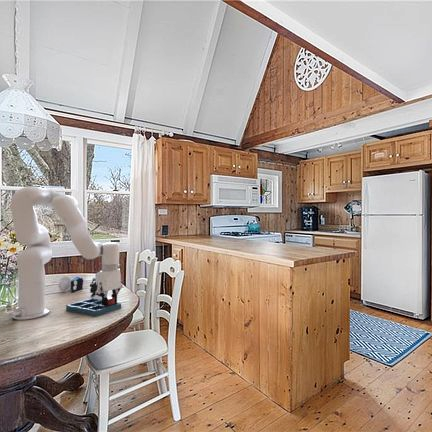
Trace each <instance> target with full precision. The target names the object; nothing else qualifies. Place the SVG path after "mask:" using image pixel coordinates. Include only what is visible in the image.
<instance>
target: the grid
mask: <svg viewBox="0 0 432 432" xmlns="http://www.w3.org/2000/svg"><path fill="white" fill-rule="evenodd" d="M120 309H122V302H118V301H117V302H116V303H115V304H112V305H102V298H101V299H100V298H94V297H91V298H88V299H84V300H81V301H77V302H74V303H69V304H66V305H65V311H66V312H70V313H71V312H72V313H77V314H81V315H86V316H90V317H94V318H95V317H98V316H102V315H105V314H108V313H112V312H114V311H117V310H120Z"/></svg>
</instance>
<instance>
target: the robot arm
mask: <svg viewBox="0 0 432 432" xmlns="http://www.w3.org/2000/svg"><path fill="white" fill-rule="evenodd" d="M35 206H43V207H46V208H50V209H53V210H54V211H55V213H56V214H57V216H58V217H59V219H60V221H61V222H62V223H63V225H64V227H65V228H66V229H67V232H68V235H69V237H70V239H71V241H72V244H73V245H74V247H75V248H76V250H77V251H78V253H79V254H80V255H81V257H83V258H84V259H86V260H94V259H97V258H98V257H101V270H99V272H100V273H99V277H98V285H97V290H96V293H97V294H99V295H100V296H101V300H102V305H108V297H109V296H108V293H109V292H110V291H111V296H110V297H115V303H116V302H118V295H119V293H120V291H121V289H122V288H123V287H124V285H123V284H122V274H121V269H120V267H121V263H120V251H121V250H120V248H121V247H120V244H119V243H118V242H100V241H94V240H93V238H92V237H91V235H90V233H89V230H88V221H87V220H86V218H85V216H84V215H83V213H82V212H81V210H80V209H79V208H78V207H79V202H78V200H77V199H76V198H75V197H74V196H72V195H69V194H68V195H67V194H66V193H65V194H64V193H61V192H57V191H55V190H51V189H48V188H45V187H40V186H35V185H31V186H24V187H22V188H20V189H18V190H16V191H15V192H14V194H12V196H11V198H10V203H9V207H10V212H11V215H12V216H11V217H12V224H13V229H14V235H15V239H16V241H17V242H18V243H19V244H20V245H23V246H26V248H25V249H23V250H22V251H20V252H19V254H18V256H17V259H16V266H17V273H18V275H17V276H18V287H17V288H18V289H17V290H18V291H17V293H18V294H17V307H15V308H14V309H13V310H12V311H11V310H10V311H7V312H4V317H5V318H7V317H12V318H13V319H14V320H19V321H21V320H32V319H37V318H41V317H45V316H46V315H48V314H49V313H50V310H49V309H47V308H46V307H45V306H46V301H45V300H46V269H45V264H47V263H49V262H50V261H51V259H52V258H53V247H52V243H51V238H50V232H49V230H48V229H47V228H46V227H45V226H44V225H42V224H39V222H38V215H37V212H36V210H35ZM101 290H102V292H101ZM100 296H99V297H100Z"/></svg>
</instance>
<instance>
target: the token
mask: <svg viewBox="0 0 432 432" xmlns="http://www.w3.org/2000/svg"><path fill="white" fill-rule="evenodd" d="M107 297H108V305H112V304H115V297H111V296H107Z"/></svg>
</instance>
